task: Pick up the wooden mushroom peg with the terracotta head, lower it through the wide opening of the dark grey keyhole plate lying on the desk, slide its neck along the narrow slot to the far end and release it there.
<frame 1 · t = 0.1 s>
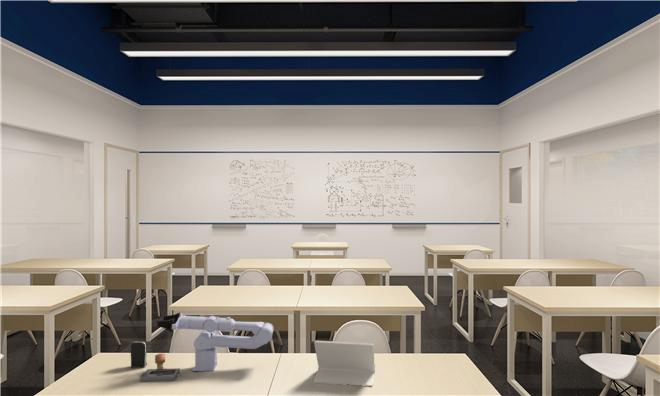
hand: (160, 321, 188), 22 cm above the table, tool horizontal, fingers open, 7 cm apart
keyhole plate: (160, 377, 179), on the table
battery charger: (139, 366, 191), on the table
peg: (160, 369, 187), on the table
tablet stand: (345, 376, 180), on the table
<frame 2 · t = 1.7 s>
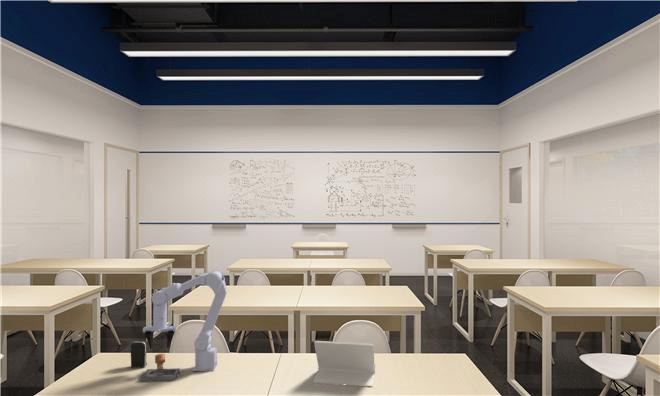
hand: (160, 347, 187), 10 cm above the table, tool pointing down, fingers open, 7 cm apart
nothing on the table moved.
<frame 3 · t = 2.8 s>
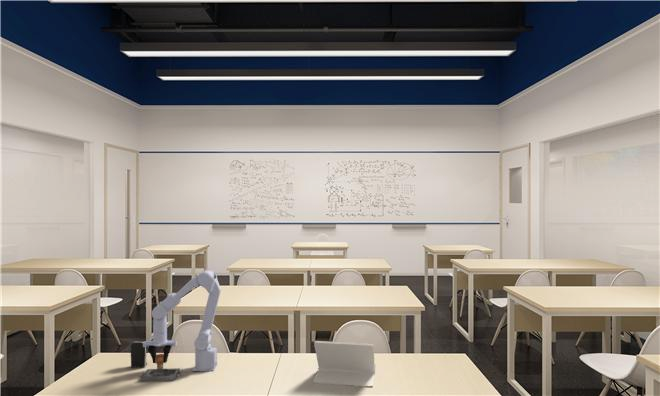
hand: (160, 362, 187), 3 cm above the table, tool pointing down, fingers closed on peg, 4 cm apart
peg: (160, 369, 187), on the table, touching gripper
everything else where it was.
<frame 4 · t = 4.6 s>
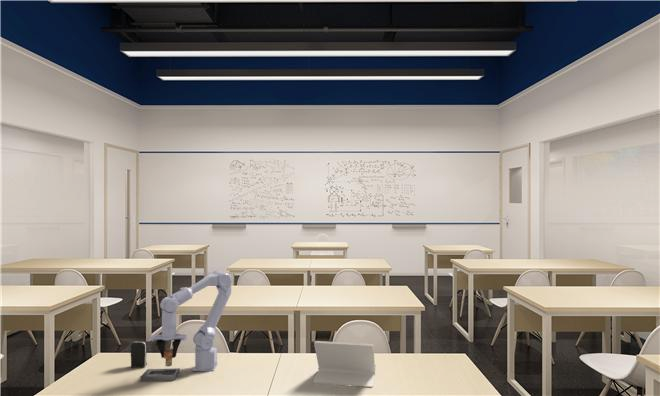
hand: (168, 356, 180), 9 cm above the table, tool pointing down, fingers closed on peg, 4 cm apart
peg: (168, 365, 180), point 5 cm above the table, touching gripper
everything else where it was.
when the fingers open (4 cm above the table, at t = 6.7 s): peg stays where it is, resting in keyhole plate.
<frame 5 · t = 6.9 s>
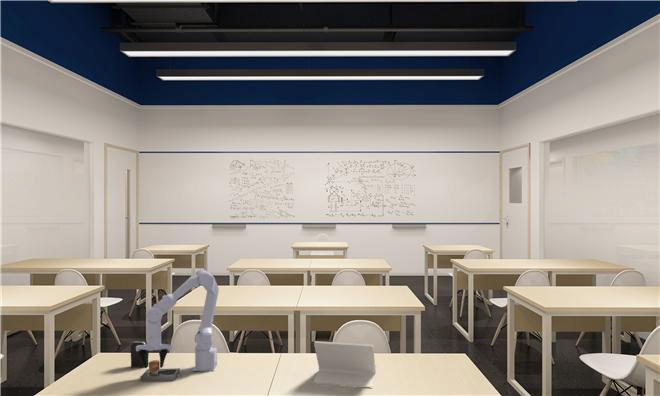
hand: (154, 367, 179), 4 cm above the table, tool pointing down, fingers open, 6 cm apart
peg: (154, 377, 179), resting in keyhole plate
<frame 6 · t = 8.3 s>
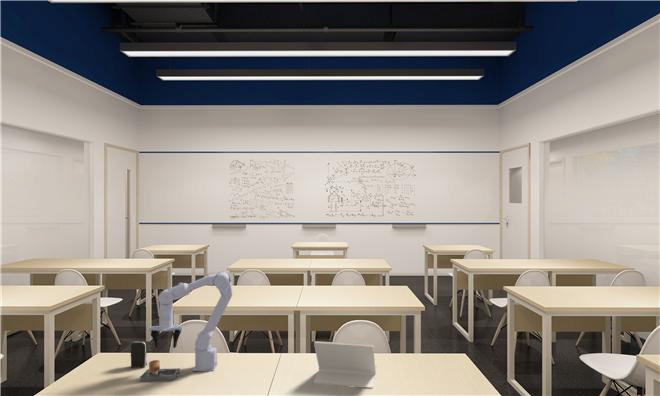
hand: (166, 347, 186), 10 cm above the table, tool pointing down, fingers open, 7 cm apart
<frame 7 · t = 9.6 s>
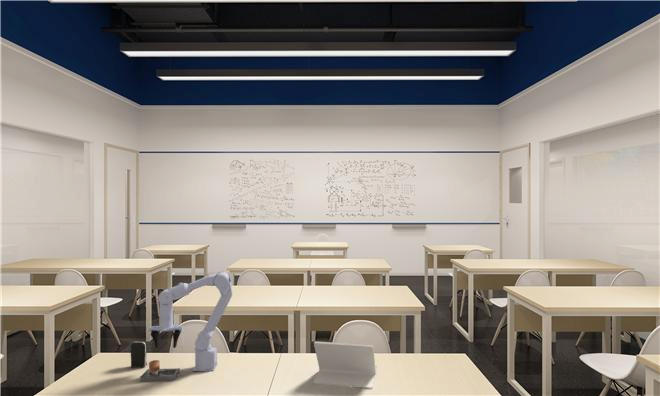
hand: (166, 347, 186), 10 cm above the table, tool pointing down, fingers open, 7 cm apart
at the end: peg 0.1 cm from the target spot, resting in keyhole plate; peg tilted 0°; the gripper is holding nothing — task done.
